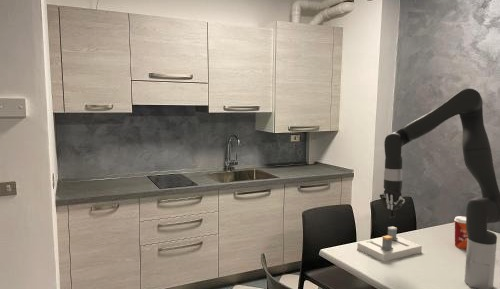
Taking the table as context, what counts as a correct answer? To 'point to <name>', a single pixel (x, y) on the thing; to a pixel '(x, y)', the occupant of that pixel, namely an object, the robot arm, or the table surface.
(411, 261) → the table surface
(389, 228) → the on lever
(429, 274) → the table surface
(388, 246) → the orange and grey block
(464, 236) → the paper cup
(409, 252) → the switch box
